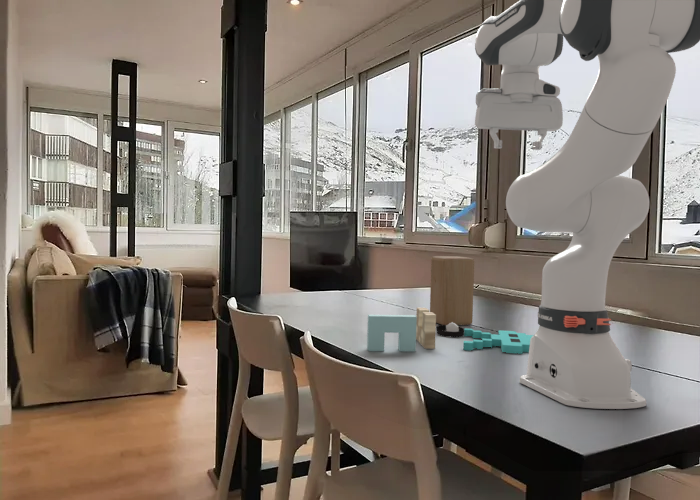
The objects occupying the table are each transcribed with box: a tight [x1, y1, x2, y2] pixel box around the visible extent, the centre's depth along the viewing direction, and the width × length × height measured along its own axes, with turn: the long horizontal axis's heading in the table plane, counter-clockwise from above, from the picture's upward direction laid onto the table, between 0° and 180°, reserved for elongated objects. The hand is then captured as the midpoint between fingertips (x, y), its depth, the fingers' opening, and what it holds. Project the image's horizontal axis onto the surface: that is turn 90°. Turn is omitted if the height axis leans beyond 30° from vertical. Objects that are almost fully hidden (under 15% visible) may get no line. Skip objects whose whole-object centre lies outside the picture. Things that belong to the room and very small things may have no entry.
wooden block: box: [429, 255, 475, 326], centre depth 173 cm, size 10×10×20 cm
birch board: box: [415, 307, 437, 350], centre depth 141 cm, size 12×2×8 cm, turn 4°
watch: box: [436, 322, 464, 338], centre depth 153 cm, size 8×5×4 cm, turn 57°
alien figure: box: [462, 327, 535, 355], centre depth 143 cm, size 20×2×20 cm
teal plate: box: [366, 314, 417, 352], centre depth 132 cm, size 2×11×8 cm, turn 94°
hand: (517, 148), depth 135 cm, fingers open, 8 cm apart
